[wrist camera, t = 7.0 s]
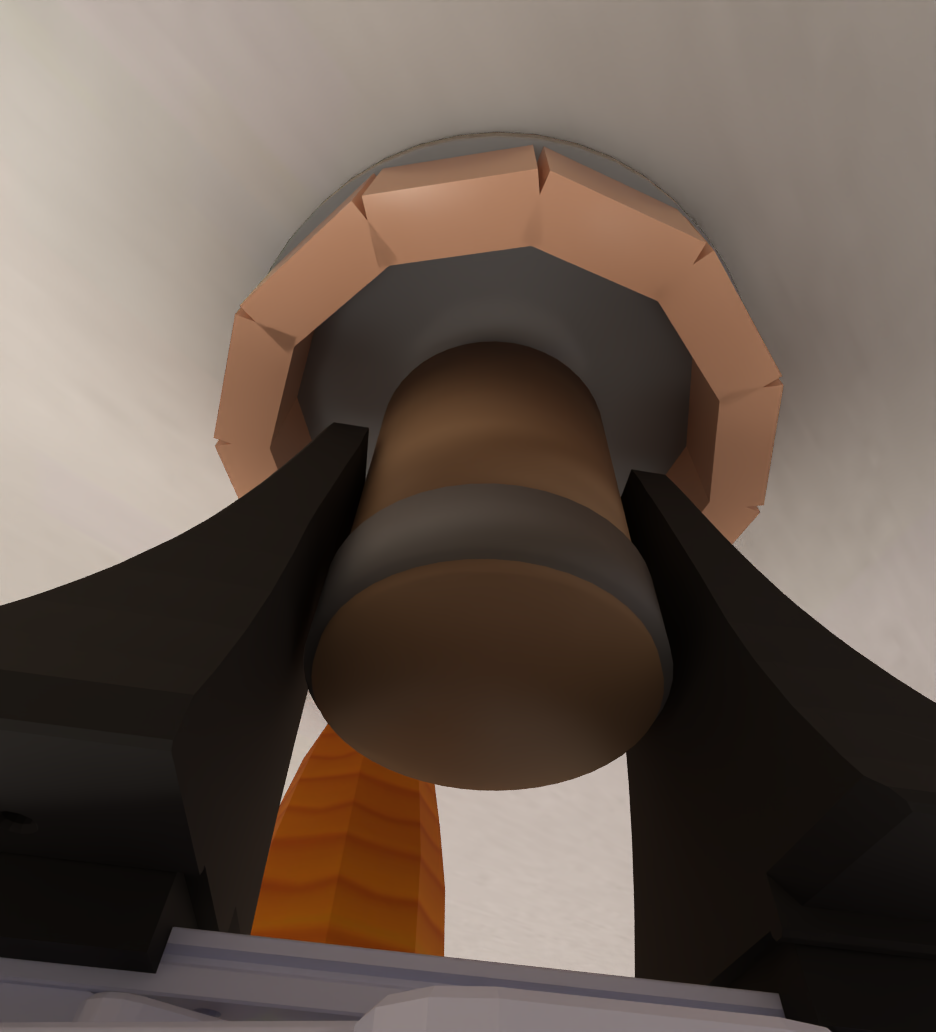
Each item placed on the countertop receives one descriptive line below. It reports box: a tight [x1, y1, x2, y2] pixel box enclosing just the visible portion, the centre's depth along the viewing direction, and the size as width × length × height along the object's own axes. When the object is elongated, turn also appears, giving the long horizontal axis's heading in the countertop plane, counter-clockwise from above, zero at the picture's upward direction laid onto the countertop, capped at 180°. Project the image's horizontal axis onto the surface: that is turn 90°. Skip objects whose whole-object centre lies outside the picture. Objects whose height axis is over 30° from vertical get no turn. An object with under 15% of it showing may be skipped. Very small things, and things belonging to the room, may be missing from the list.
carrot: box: [250, 724, 445, 957], centre depth 14 cm, size 5×5×15 cm
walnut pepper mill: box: [303, 341, 673, 791], centre depth 11 cm, size 5×5×6 cm
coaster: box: [214, 132, 783, 544], centre depth 13 cm, size 10×10×3 cm
